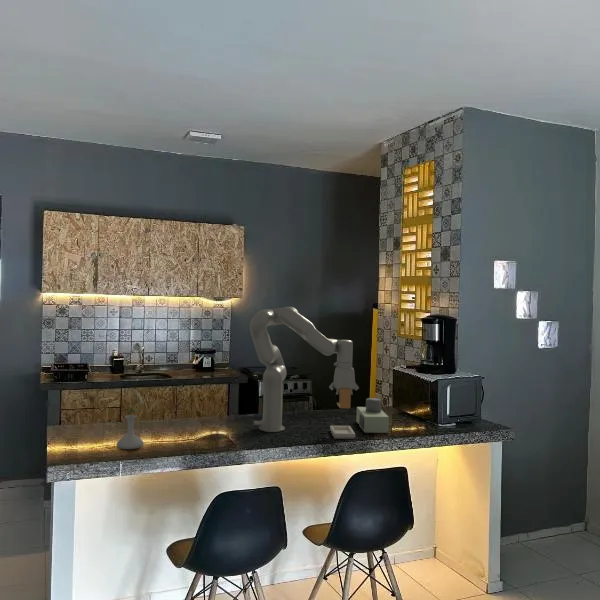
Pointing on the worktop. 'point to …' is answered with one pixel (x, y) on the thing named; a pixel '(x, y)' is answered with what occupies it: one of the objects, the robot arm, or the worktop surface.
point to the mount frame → (342, 432)
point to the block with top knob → (372, 417)
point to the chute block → (344, 398)
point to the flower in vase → (131, 429)
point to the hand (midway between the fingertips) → (343, 402)
